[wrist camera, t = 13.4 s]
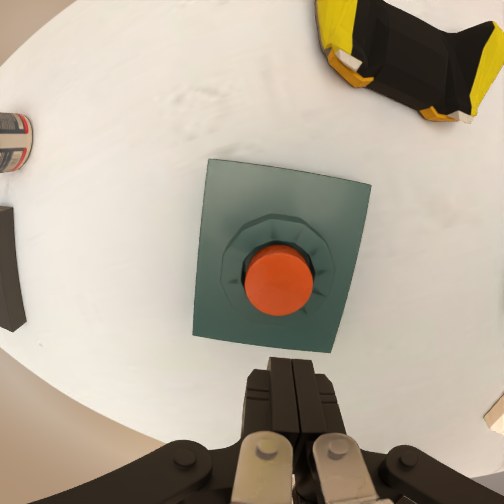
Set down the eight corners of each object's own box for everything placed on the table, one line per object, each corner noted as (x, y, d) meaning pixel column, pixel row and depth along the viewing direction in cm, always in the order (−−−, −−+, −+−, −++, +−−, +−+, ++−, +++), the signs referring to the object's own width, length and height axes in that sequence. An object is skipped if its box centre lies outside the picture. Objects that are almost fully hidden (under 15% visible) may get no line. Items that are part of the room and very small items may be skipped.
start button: (302, 305, 18) (305, 319, 16) (243, 298, 18) (240, 311, 16) (314, 249, 17) (319, 258, 15) (251, 239, 17) (249, 248, 15)
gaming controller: (317, -29, 14) (287, 68, 17) (328, -70, 9) (294, 36, 12) (478, 48, 15) (467, 146, 18) (515, 32, 10) (512, 146, 12)
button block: (325, 337, 23) (335, 368, 19) (198, 320, 23) (186, 349, 19) (361, 182, 19) (382, 187, 15) (214, 159, 19) (202, 157, 15)
